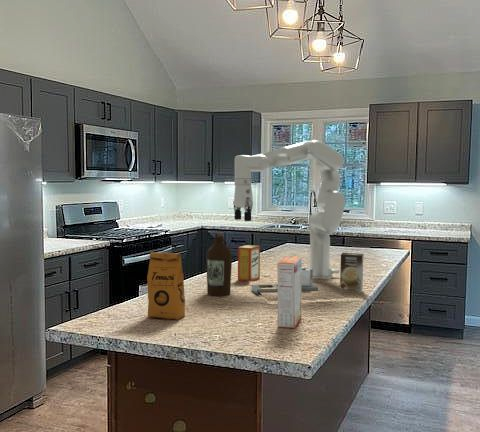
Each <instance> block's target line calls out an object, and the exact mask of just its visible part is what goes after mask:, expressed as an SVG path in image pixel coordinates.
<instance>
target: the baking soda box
mask: <svg viewBox="0 0 480 432" xmlns="http://www.w3.org/2000/svg"><path fill="white" fill-rule="evenodd" d="M260 249H261V246H260V245H251V244H247V245H242V246H239V247H237V281H238V282H239V281H240V282H254V281H257V280H260V279H261V277H260V276H261V271H260V270H261V269H260V268H261V266H260V265H261V264H260V263H261V250H260Z"/></svg>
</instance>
